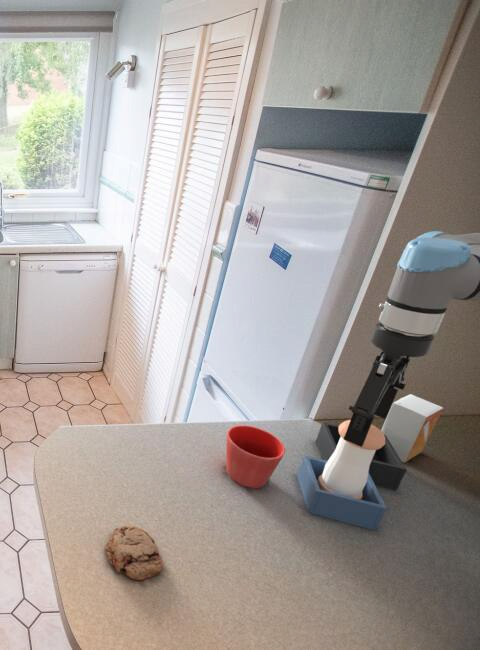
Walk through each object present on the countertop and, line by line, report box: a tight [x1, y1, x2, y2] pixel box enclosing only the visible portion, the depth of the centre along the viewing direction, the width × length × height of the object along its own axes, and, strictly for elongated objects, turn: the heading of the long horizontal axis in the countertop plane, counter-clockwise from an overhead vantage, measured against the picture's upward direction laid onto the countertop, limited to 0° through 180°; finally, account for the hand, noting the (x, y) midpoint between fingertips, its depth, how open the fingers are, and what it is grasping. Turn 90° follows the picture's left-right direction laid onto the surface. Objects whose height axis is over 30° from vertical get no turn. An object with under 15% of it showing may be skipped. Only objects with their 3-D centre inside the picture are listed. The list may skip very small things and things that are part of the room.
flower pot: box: [225, 424, 286, 489], centre depth 99 cm, size 11×11×10 cm
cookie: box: [104, 525, 164, 581], centre depth 82 cm, size 10×11×3 cm
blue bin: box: [296, 455, 387, 532], centre depth 93 cm, size 11×11×6 cm
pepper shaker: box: [317, 419, 385, 500], centre depth 90 cm, size 7×7×19 cm
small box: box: [380, 393, 444, 464], centre depth 106 cm, size 8×6×13 cm
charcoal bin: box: [315, 421, 407, 491], centre depth 103 cm, size 12×12×6 cm
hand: (365, 428), depth 87 cm, fingers open, 13 cm apart
